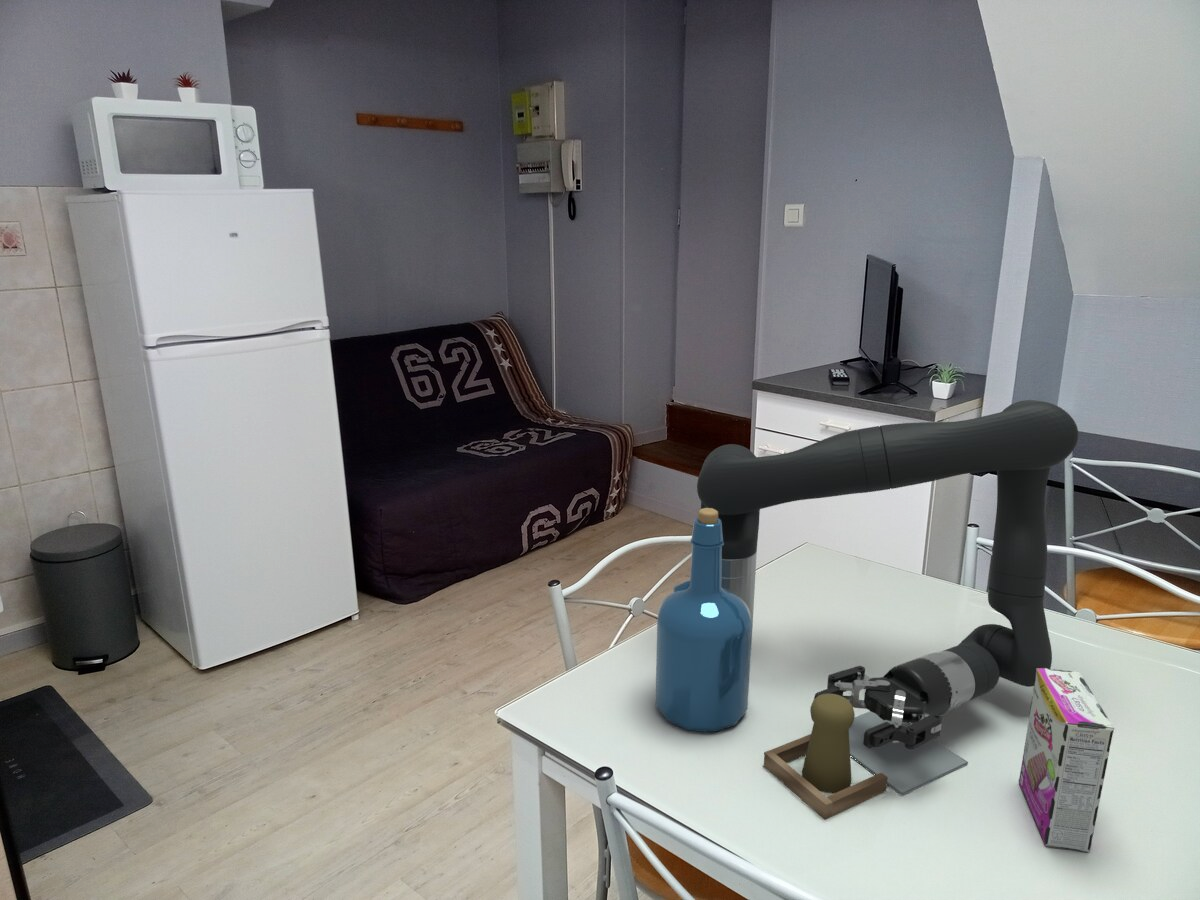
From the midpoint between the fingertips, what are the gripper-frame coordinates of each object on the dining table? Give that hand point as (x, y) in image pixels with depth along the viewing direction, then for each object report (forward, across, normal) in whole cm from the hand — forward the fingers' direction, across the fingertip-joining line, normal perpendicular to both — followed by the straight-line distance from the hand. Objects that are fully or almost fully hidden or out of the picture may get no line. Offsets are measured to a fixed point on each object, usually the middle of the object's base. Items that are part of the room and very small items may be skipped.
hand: (840, 721), depth 102 cm
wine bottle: (+6, -20, +8) cm, 22 cm away
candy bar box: (-16, +18, +8) cm, 26 cm away
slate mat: (-10, 0, +8) cm, 13 cm away
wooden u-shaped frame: (+1, 0, +8) cm, 8 cm away
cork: (+1, 0, +8) cm, 8 cm away
